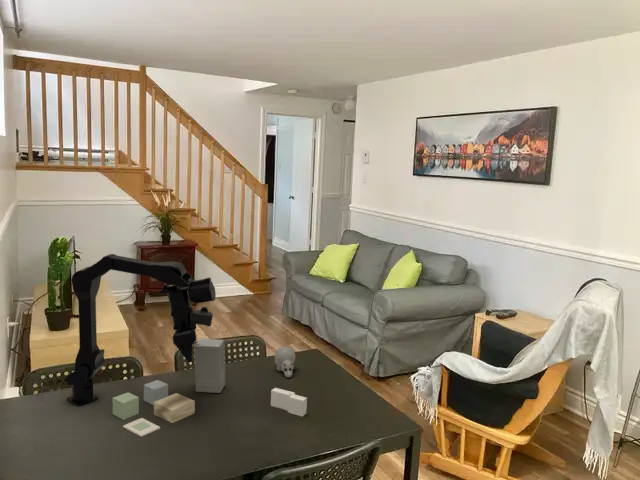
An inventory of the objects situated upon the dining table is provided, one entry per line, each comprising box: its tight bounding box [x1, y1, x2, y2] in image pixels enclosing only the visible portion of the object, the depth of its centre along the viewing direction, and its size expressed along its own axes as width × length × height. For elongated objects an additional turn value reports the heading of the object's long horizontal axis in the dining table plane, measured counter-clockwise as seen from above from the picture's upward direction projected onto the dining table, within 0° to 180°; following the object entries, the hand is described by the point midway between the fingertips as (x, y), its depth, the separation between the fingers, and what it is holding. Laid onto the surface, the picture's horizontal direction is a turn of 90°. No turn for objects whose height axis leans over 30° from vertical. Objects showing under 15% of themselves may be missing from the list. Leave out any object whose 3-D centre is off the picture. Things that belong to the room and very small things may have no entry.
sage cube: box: [112, 392, 140, 420], centre depth 151 cm, size 5×5×5 cm
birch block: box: [153, 392, 196, 424], centre depth 153 cm, size 8×8×4 cm
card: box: [122, 417, 161, 437], centre depth 144 cm, size 8×6×1 cm
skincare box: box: [193, 338, 226, 394], centre depth 169 cm, size 8×7×16 cm
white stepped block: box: [270, 387, 308, 417], centre depth 158 cm, size 15×11×6 cm
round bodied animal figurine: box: [274, 346, 296, 379], centre depth 186 cm, size 7×12×8 cm, turn 12°
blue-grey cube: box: [143, 379, 169, 406], centre depth 161 cm, size 5×5×5 cm
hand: (190, 356), depth 157 cm, fingers open, 9 cm apart
